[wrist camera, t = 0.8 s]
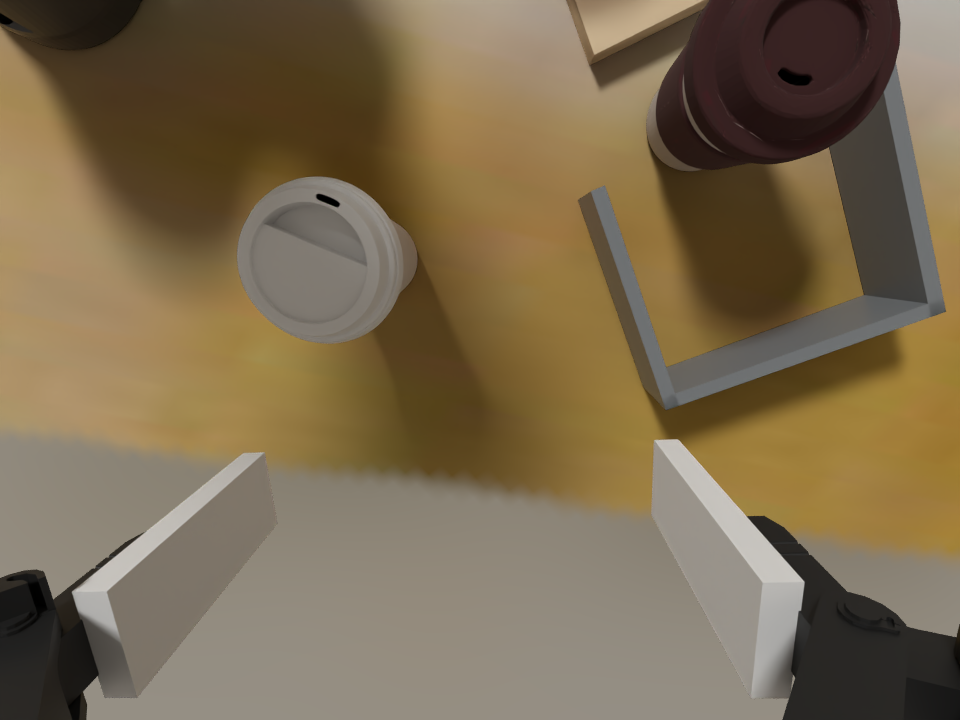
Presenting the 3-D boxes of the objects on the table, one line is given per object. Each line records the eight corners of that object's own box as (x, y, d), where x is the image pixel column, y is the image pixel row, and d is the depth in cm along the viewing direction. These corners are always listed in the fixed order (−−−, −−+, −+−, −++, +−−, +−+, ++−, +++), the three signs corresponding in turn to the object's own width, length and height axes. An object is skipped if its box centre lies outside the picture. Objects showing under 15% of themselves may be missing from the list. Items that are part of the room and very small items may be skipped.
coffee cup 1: (459, 257, 40) (431, 263, 25) (384, 336, 42) (319, 384, 27) (375, 173, 38) (295, 129, 24) (302, 259, 40) (187, 265, 26)
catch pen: (578, 200, 38) (590, 191, 32) (831, 92, 35) (895, 61, 29) (643, 387, 41) (665, 410, 36) (879, 301, 39) (945, 311, 33)
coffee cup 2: (708, 19, 35) (856, -147, 20) (784, 127, 36) (973, 47, 22) (601, 116, 37) (664, 30, 22) (676, 216, 38) (783, 198, 23)
